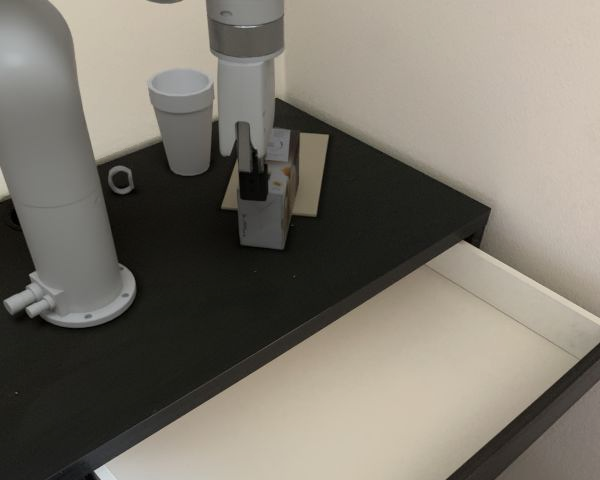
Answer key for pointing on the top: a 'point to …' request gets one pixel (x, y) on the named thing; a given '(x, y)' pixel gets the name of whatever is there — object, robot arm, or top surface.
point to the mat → (309, 176)
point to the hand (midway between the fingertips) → (254, 196)
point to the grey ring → (130, 178)
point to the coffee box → (273, 194)
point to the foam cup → (184, 117)
